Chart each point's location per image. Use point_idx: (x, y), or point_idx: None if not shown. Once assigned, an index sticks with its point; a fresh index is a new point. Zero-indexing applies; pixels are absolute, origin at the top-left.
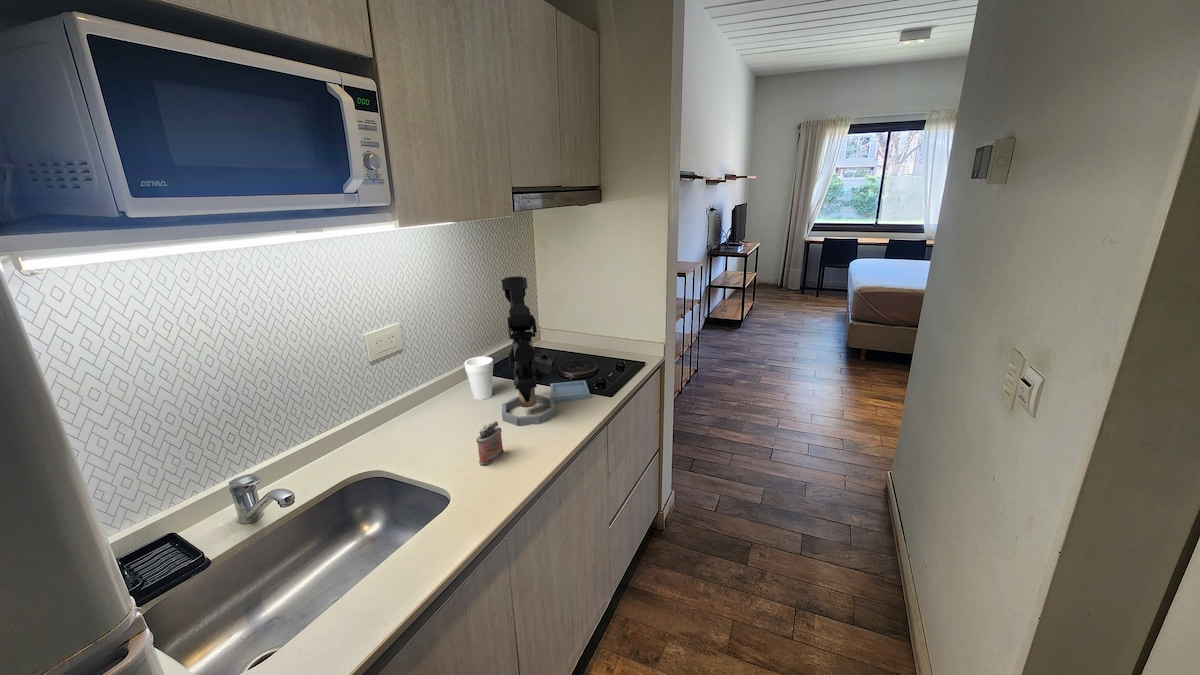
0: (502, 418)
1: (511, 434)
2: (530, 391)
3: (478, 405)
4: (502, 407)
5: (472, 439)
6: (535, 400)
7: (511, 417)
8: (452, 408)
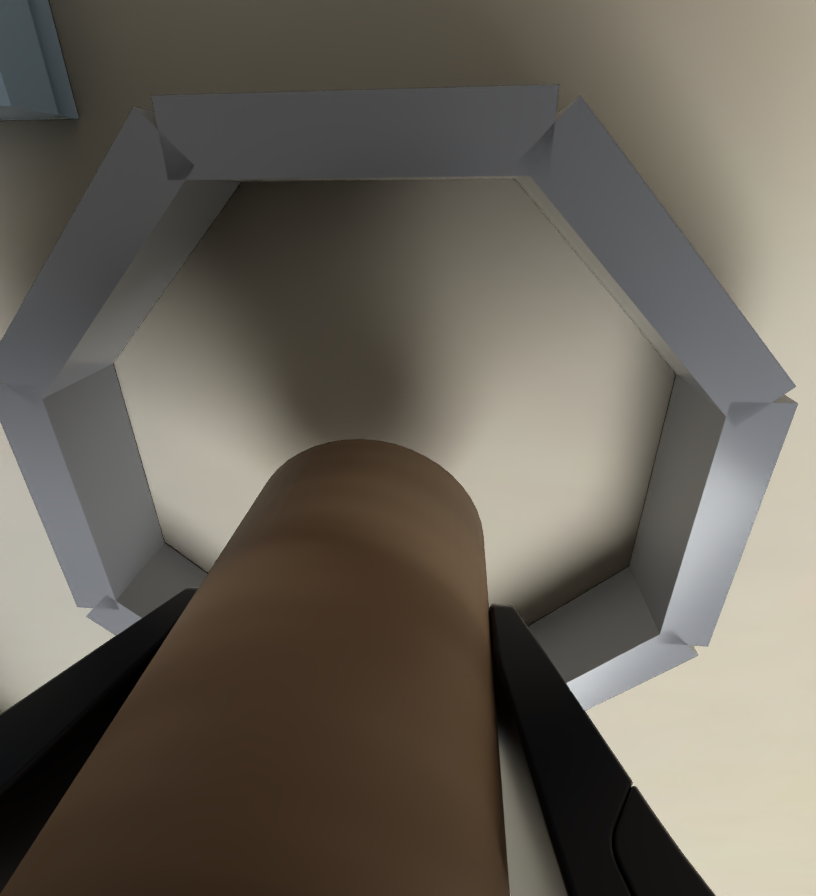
0: None
1: (813, 640)
2: (680, 859)
3: None
4: None
5: (723, 839)
6: (377, 473)
7: (610, 686)
8: None
